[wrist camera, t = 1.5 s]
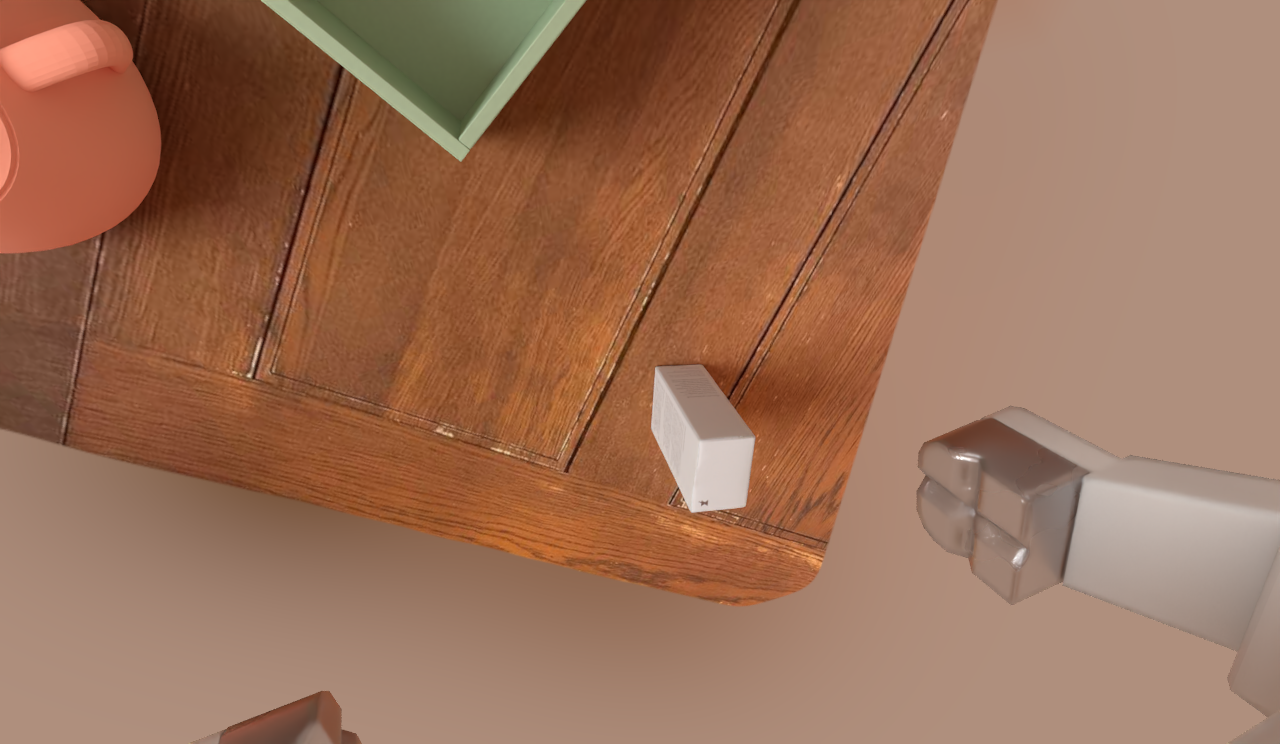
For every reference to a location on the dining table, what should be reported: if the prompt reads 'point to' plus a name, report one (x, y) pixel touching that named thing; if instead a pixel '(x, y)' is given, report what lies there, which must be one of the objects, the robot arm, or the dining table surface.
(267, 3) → the open storage bin
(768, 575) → the dining table surface
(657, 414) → the cosmetic box
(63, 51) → the teapot
